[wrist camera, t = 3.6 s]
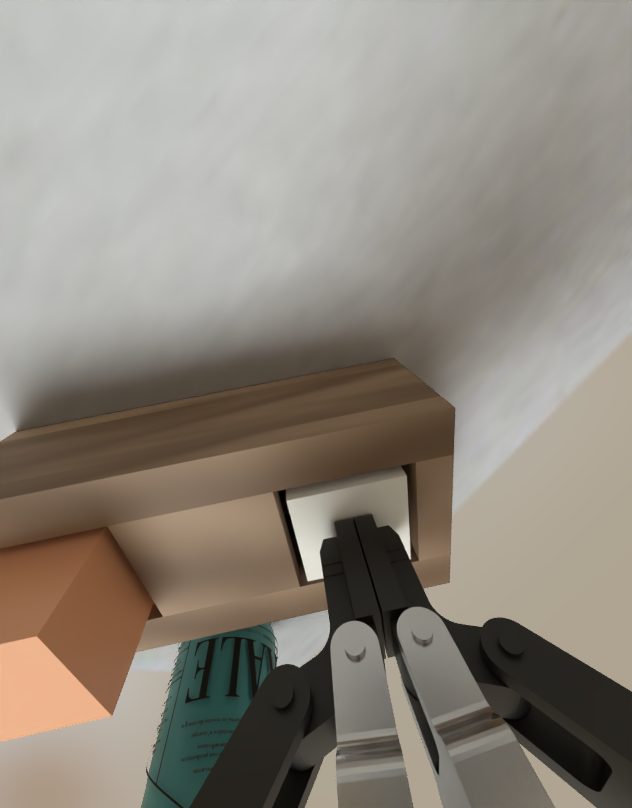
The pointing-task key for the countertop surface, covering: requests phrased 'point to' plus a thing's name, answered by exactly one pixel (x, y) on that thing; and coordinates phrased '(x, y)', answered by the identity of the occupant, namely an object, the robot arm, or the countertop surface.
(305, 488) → the white plug
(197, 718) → the beverage bottle
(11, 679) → the terracotta plug
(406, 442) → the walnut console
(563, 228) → the countertop surface
